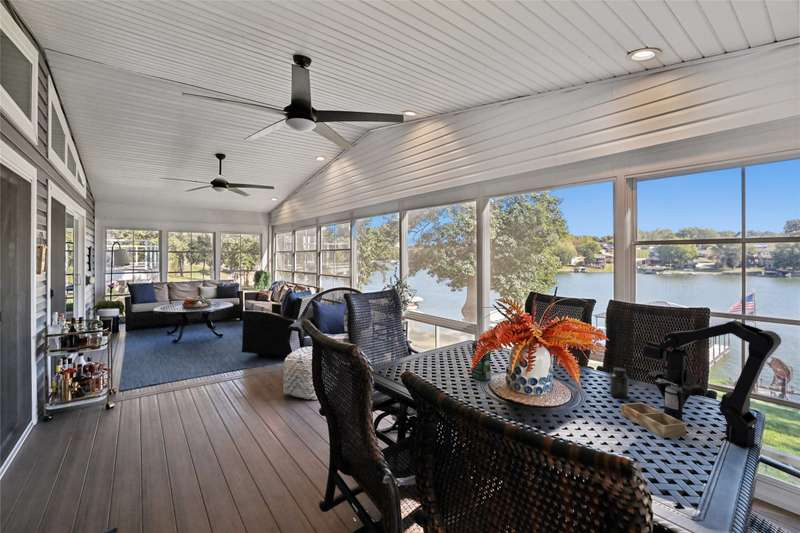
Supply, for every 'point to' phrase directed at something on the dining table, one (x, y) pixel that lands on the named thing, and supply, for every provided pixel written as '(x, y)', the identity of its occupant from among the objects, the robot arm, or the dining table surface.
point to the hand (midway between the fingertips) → (673, 404)
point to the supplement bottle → (619, 383)
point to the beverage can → (672, 402)
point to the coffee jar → (481, 366)
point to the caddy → (653, 420)
